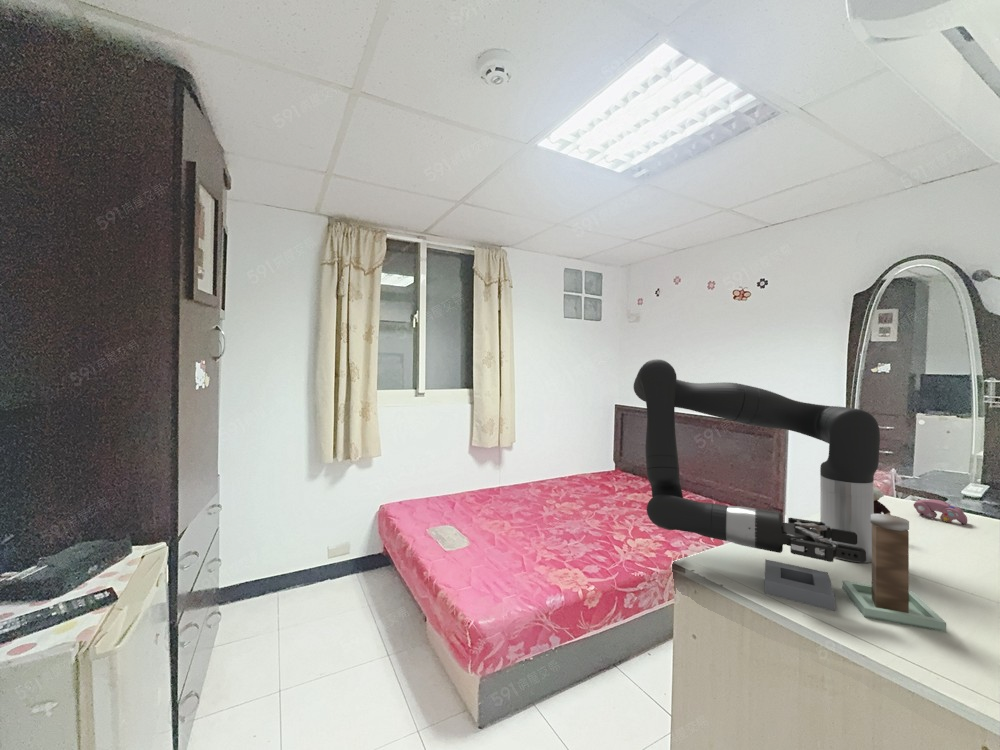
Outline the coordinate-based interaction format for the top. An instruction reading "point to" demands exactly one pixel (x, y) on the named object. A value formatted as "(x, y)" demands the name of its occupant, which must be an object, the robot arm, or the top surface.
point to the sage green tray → (916, 617)
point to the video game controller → (940, 510)
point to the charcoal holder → (799, 584)
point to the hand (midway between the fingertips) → (861, 546)
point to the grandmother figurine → (878, 506)
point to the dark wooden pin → (890, 562)
